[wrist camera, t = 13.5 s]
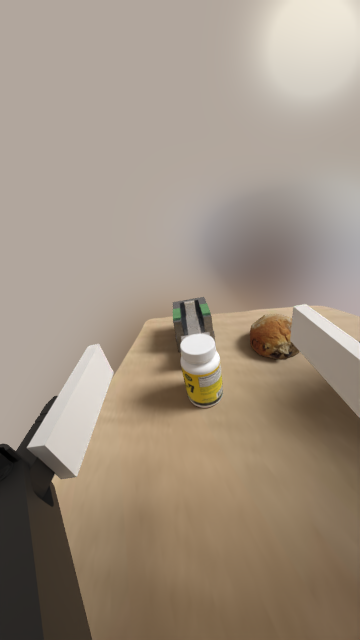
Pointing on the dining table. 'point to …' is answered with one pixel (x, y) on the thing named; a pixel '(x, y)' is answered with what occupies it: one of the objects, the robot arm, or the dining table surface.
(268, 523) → the dining table surface
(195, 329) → the plunger
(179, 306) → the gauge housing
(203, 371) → the supplement bottle
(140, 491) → the dining table surface
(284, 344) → the bread roll
